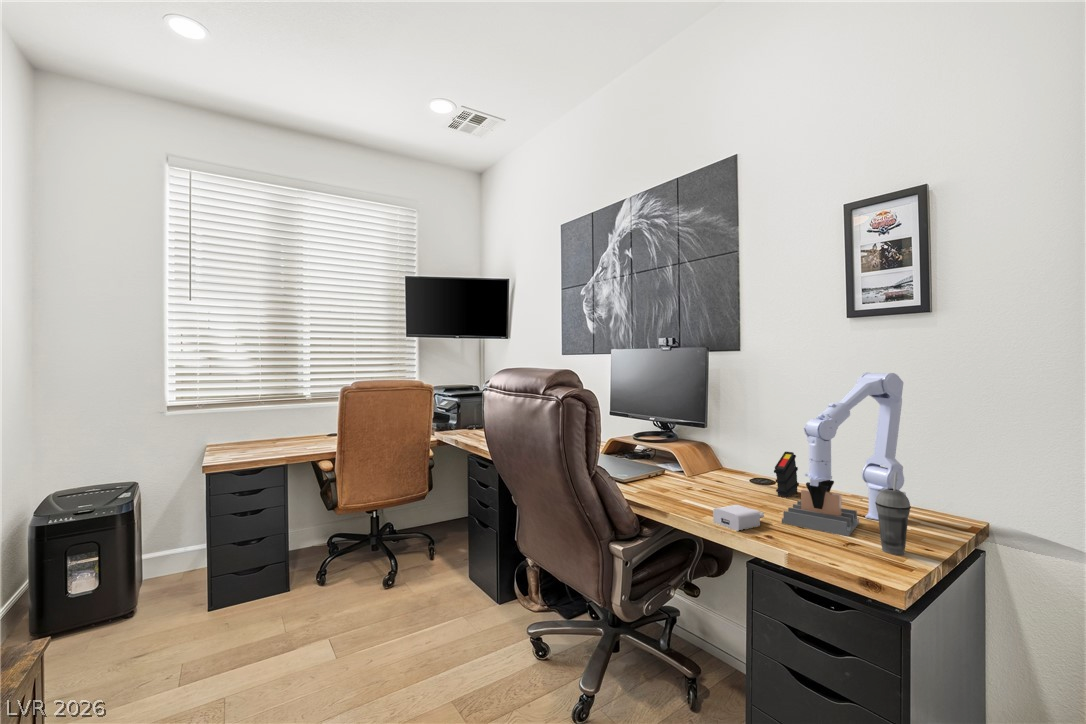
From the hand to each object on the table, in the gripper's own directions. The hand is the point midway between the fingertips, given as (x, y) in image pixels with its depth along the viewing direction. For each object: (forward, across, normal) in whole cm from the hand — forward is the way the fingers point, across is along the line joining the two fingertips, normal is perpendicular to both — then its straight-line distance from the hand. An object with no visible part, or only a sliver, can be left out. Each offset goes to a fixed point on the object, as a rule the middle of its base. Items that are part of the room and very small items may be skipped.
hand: (820, 506), depth 145 cm
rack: (+5, 0, 0) cm, 5 cm away
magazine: (+5, -28, -17) cm, 33 cm away
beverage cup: (+5, +13, +19) cm, 24 cm away
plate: (+4, 0, 0) cm, 4 cm away
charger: (+5, +15, -17) cm, 23 cm away
